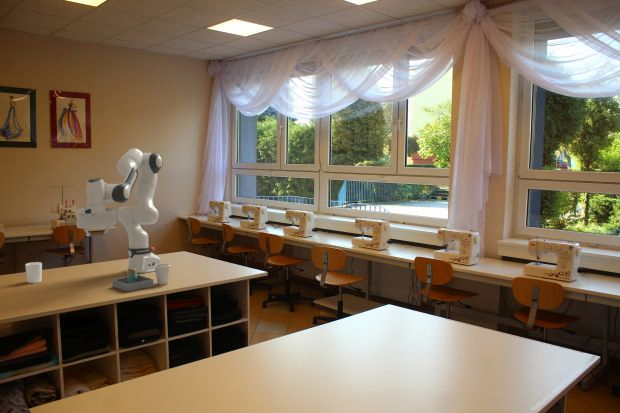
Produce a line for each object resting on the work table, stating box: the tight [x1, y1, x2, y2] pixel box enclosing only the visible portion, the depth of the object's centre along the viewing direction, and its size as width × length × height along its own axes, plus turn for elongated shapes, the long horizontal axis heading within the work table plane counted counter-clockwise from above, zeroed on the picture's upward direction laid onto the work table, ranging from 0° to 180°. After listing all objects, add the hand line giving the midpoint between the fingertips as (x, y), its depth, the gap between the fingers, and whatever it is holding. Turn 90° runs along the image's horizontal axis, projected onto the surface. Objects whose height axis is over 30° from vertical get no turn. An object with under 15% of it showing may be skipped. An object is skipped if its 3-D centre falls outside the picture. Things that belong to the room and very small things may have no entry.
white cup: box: [24, 261, 43, 284], centre depth 272 cm, size 8×8×10 cm
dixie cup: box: [154, 263, 171, 285], centre depth 269 cm, size 8×8×10 cm
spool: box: [127, 268, 138, 284], centre depth 261 cm, size 4×4×9 cm
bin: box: [111, 274, 154, 293], centre depth 261 cm, size 15×15×4 cm
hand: (97, 235), depth 264 cm, fingers open, 8 cm apart
